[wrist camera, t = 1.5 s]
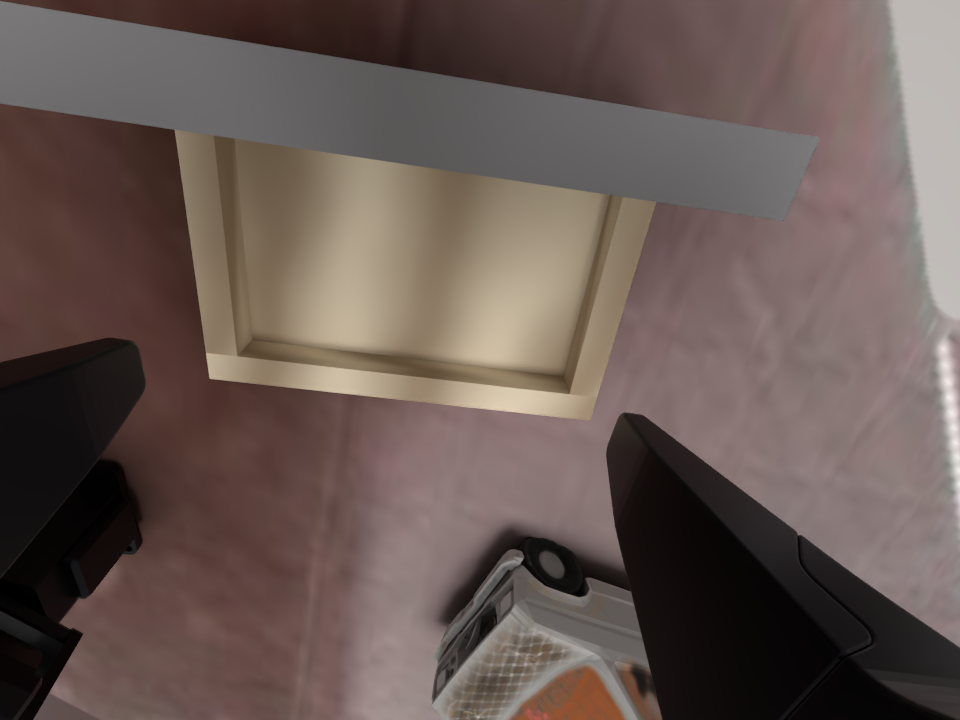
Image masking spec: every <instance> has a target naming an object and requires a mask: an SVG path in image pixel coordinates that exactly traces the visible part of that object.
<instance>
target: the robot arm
mask: <svg viewBox="0 0 960 720" xmlns="http://www.w3.org/2000/svg"><path fill="white" fill-rule="evenodd" d="M145 385H146V379H145V374H144V369H143V364H142V359H141V355H140V350H139V347H138V345H137V344H136V343H135V342H133V341H130V340H124V339H117V338H104V339H100V340H96V341H91V342H87V343H83V344H78V345H74V346H70V347H65V348H61V349H57V350H52V351H48V352H43V353H39V354H35V355H30V356H26V357H22V358H17V359H13V360H9V361H4V362H0V720H33V719H34V717H35V716H36V714H37V712H38V710H39V709H40V707H41V705H42V704H43V702H44V700H45V699H46V697H47V695H48V693H49V692H50V690H51V688H52V687H53V685H54V683H55V682H56V680H57V678H58V676H59V675H60V673H61V671H62V670H63V668H64V666H65V664H66V663H67V661H68V659H69V658H70V656H71V654H72V652H73V651H74V649H75V647H76V646H77V644H78V642H79V640H80V639H81V637H82V635H83V633H81V632H80V631H78V630H76V629H74V628H72V629H69V628H67V627H65V626H63V625H62V624H60V621H61V620H62V619H63V618H64V616H65V615H66V614H67V612H68V611H69V610H70V609H71V607H72V606H73V605H74V604H75V602H76V601H77V600H78V599H85V598H87V597H88V596H90V595H91V594H92V593H93V591H94V590H95V589H96V587H97V586H98V585H99V584H100V582H101V581H102V580H103V578H104V577H105V576H106V575H107V573H108V572H109V571H110V569H111V568H112V567H113V566H114V564H115V563H116V562H117V560H118V559H119V558H120V557H121V555H122V554H135V553H136V552H137V551H138V549H139V548H140V547H141V541H140V538H139V534H138V530H137V526H136V523H135V519H134V515H133V511H132V508H131V504H130V500H129V497H128V493H127V489H126V485H125V482H124V478H123V474H122V471H121V469H120V468H119V467H118V466H117V465H115V464H113V463H106V462H97V461H98V460H99V458H100V457H101V455H102V454H103V452H104V451H105V450H106V448H107V447H108V445H109V444H110V442H111V441H112V439H113V438H114V436H115V435H116V433H117V432H118V430H119V429H120V427H121V426H122V424H123V423H124V421H125V420H126V418H127V417H128V415H129V414H130V412H131V411H132V409H133V407H134V406H135V404H136V403H137V401H138V400H139V398H140V397H141V395H142V394H143V392H144V389H145ZM606 458H607V467H608V475H609V483H610V491H611V499H612V507H613V515H614V522H615V528H616V533H617V537H618V541H619V545H620V550H621V554H622V558H623V562H624V566H625V570H626V574H627V578H628V582H629V586H630V590H631V595H632V599H633V603H634V607H635V611H636V615H637V619H638V623H639V627H640V631H641V635H642V640H643V644H644V648H645V652H646V656H647V660H648V664H649V668H650V672H651V676H652V680H653V685H654V689H655V693H656V697H657V701H658V705H659V709H660V713H661V717H662V720H960V647H958V646H957V645H955V644H954V643H952V642H951V641H950V640H948V639H947V638H945V637H944V636H942V635H941V634H939V633H938V632H936V631H935V630H933V629H932V628H931V627H929V626H928V625H926V624H925V623H923V622H922V621H920V620H919V619H917V618H916V617H914V616H913V615H912V614H910V613H909V612H907V611H906V610H904V609H903V608H901V607H900V606H898V605H897V604H895V603H894V602H893V601H891V600H890V599H888V598H887V597H885V596H884V595H883V594H881V593H880V592H878V591H877V590H875V589H874V588H873V587H871V586H870V585H868V584H867V583H865V582H864V581H863V580H861V579H860V578H858V577H857V576H855V575H854V574H853V573H851V572H850V571H849V570H847V569H846V568H845V567H843V566H842V565H841V564H839V563H838V562H836V561H835V560H834V559H832V558H831V557H830V556H828V555H827V554H826V553H824V552H823V551H822V550H820V549H819V548H818V547H816V546H815V545H814V544H812V543H811V542H810V541H808V540H807V539H806V538H805V537H803V536H802V535H799V536H798V534H797V532H796V531H795V530H794V529H793V528H791V527H790V526H789V525H787V524H786V523H785V522H783V521H782V520H781V519H779V518H778V517H777V516H775V515H774V514H773V513H771V512H770V511H769V510H767V509H766V508H765V507H763V506H762V505H761V504H760V503H758V502H757V501H756V500H754V499H753V498H752V497H750V496H749V495H748V494H746V493H745V492H744V491H742V490H741V489H740V488H738V487H737V486H736V485H734V484H733V483H732V482H730V481H729V480H728V479H727V478H725V477H724V476H723V475H721V474H720V473H719V472H717V471H716V470H715V469H713V468H712V467H711V466H709V465H708V464H707V463H705V462H704V461H703V460H702V459H700V458H699V457H698V456H696V455H695V454H694V453H692V452H691V451H690V450H688V449H687V448H686V447H684V446H683V445H682V444H680V443H679V442H678V441H676V440H675V439H674V438H673V437H671V436H670V435H669V434H667V433H666V432H665V431H663V430H662V429H661V428H659V427H658V426H657V425H655V424H654V423H653V422H651V421H650V420H649V419H647V418H646V417H645V416H643V415H640V414H633V413H622V414H620V416H619V417H618V419H617V422H616V424H615V427H614V430H613V432H612V435H611V438H610V440H609V443H608V446H607V452H606Z"/></svg>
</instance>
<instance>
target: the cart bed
mask: <svg viewBox="0 0 960 720" xmlns="http://www.w3.org/2000/svg"><path fill="white" fill-rule="evenodd" d="M175 135H176V142H177V150H178V157H179V164H180V171H181V178H182V185H183V192H184V199H185V206H186V214H187V221H188V228H189V235H190V242H191V249H192V256H193V263H194V271H195V278H196V285H197V292H198V299H199V306H200V313H201V320H202V328H203V335H204V342H205V349H206V356H207V363H208V370H209V377H210V379H216V380H226V381H235V382H244V383H253V384H262V385H271V386H280V387H289V388H298V389H307V390H317V391H326V392H335V393H344V394H353V395H362V396H371V397H380V398H389V399H398V400H407V401H417V402H426V403H435V404H444V405H453V406H462V407H471V408H480V409H489V410H498V411H508V412H517V413H526V414H535V415H544V416H553V417H562V418H571V419H580V420H589V421H590V419H591V415H592V412H593V409H594V406H595V402H596V399H597V396H598V392H599V389H600V386H601V383H602V379H603V376H604V373H605V369H606V366H607V363H608V360H609V356H610V353H611V350H612V346H613V343H614V340H615V337H616V333H617V330H618V327H619V323H620V320H621V317H622V314H623V310H624V307H625V304H626V300H627V297H628V294H629V291H630V287H631V284H632V281H633V277H634V274H635V271H636V268H637V264H638V261H639V258H640V254H641V251H642V248H643V245H644V241H645V238H646V235H647V231H648V228H649V225H650V222H651V218H652V215H653V212H654V208H655V205H656V202H653V201H646V200H640V199H633V198H626V197H620V196H613V195H606V194H600V193H593V192H586V191H580V190H573V189H566V188H560V187H553V186H546V185H540V184H533V183H526V182H520V181H513V180H506V179H500V178H493V177H486V176H480V175H473V174H467V173H460V172H453V171H447V170H440V169H433V168H427V167H420V166H413V165H407V164H400V163H393V162H387V161H380V160H373V159H367V158H360V157H353V156H347V155H340V154H333V153H327V152H320V151H313V150H307V149H300V148H293V147H287V146H280V145H273V144H267V143H260V142H254V141H247V140H240V139H234V138H227V137H220V136H214V135H207V134H200V133H194V132H187V131H180V130H175Z"/></svg>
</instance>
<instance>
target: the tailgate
mask: <svg viewBox="0 0 960 720" xmlns="http://www.w3.org/2000/svg"><path fill="white" fill-rule="evenodd" d="M0 103H1V104H7V105H14V106H21V107H27V108H34V109H41V110H47V111H54V112H60V113H67V114H74V115H80V116H87V117H94V118H100V119H107V120H114V121H120V122H127V123H134V124H140V125H147V126H154V127H160V128H167V129H174V130H180V131H187V132H194V133H200V134H207V135H214V136H220V137H227V138H234V139H240V140H247V141H254V142H260V143H267V144H273V145H280V146H287V147H293V148H300V149H307V150H313V151H320V152H327V153H333V154H340V155H347V156H353V157H360V158H367V159H373V160H380V161H387V162H393V163H400V164H407V165H413V166H420V167H427V168H433V169H440V170H447V171H453V172H460V173H467V174H473V175H480V176H486V177H493V178H500V179H506V180H513V181H520V182H526V183H533V184H540V185H546V186H553V187H560V188H566V189H573V190H580V191H586V192H593V193H600V194H606V195H613V196H620V197H626V198H633V199H640V200H646V201H653V202H660V203H666V204H673V205H680V206H686V207H693V208H700V209H706V210H713V211H719V212H726V213H733V214H739V215H746V216H753V217H759V218H766V219H773V220H779V221H784V220H785V217H786V215H787V213H788V210H789V208H790V206H791V203H792V201H793V199H794V197H795V194H796V192H797V190H798V187H799V185H800V183H801V180H802V178H803V176H804V173H805V171H806V169H807V166H808V164H809V162H810V160H811V157H812V155H813V153H814V150H815V148H816V146H817V143H818V141H819V139H820V138H819V137H813V136H807V135H801V134H795V133H789V132H783V131H777V130H771V129H765V128H759V127H753V126H747V125H741V124H735V123H729V122H723V121H717V120H711V119H705V118H699V117H693V116H687V115H681V114H675V113H669V112H663V111H657V110H651V109H645V108H639V107H633V106H627V105H621V104H615V103H609V102H603V101H597V100H591V99H585V98H579V97H573V96H567V95H561V94H555V93H549V92H543V91H537V90H531V89H525V88H519V87H513V86H507V85H501V84H495V83H489V82H483V81H477V80H471V79H465V78H459V77H453V76H447V75H441V74H435V73H429V72H423V71H417V70H411V69H405V68H399V67H393V66H387V65H381V64H375V63H369V62H363V61H357V60H351V59H345V58H339V57H333V56H327V55H321V54H315V53H309V52H303V51H297V50H291V49H285V48H279V47H273V46H267V45H261V44H255V43H249V42H243V41H237V40H231V39H225V38H219V37H213V36H207V35H201V34H195V33H189V32H183V31H177V30H171V29H165V28H159V27H153V26H147V25H141V24H135V23H129V22H123V21H117V20H111V19H105V18H99V17H93V16H87V15H81V14H75V13H69V12H63V11H57V10H51V9H45V8H39V7H33V6H27V5H21V4H15V3H9V2H3V1H0Z"/></svg>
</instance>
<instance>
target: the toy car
mask: <svg viewBox="0 0 960 720" xmlns="http://www.w3.org/2000/svg"><path fill="white" fill-rule="evenodd" d="M434 660H435V662H436V663H437V664H438V666H437V670H436V674H435V680H434V686H433V693H432V706H433V707H434V709H435V710H436V711H437V712H438V714H439V715H440V716H441V717H442V719H443V720H662V717H661V713H660V709H659V705H658V701H657V697H656V693H655V689H654V685H653V680H652V676H651V672H650V668H649V664H648V660H647V656H646V652H645V648H644V644H643V640H642V635H641V631H640V627H639V623H638V619H637V615H636V611H635V607H634V603H633V599H632V595H631V592H630V591H627V590H624V589H622V588H619V587H616V586H613V585H610V584H607V583H604V582H602V581H599V580H596V579H593V578H585V579H584V580H583V582H582V571H581V568H580V566H579V563H578V561H577V559H576V557H575V556H574V554H573V553H572V551H569V550H568V549H567V548H565V547H563V546H560V545H558V544H557V543H555V542H554V541H551V540H548V539H544V538H533V537H530V538H528V539H526V540H525V541H524V542H523V543H522V544H521V545H520V547H519V549H518V550H515V549H513V550H509V551H507V552H506V553H505V554H504V555H503V556H502V558H501V559H500V560H499V562H498V563H497V564H496V566H495V567H494V568H493V570H492V571H491V572H490V574H489V575H488V576H487V578H486V579H485V580H484V582H483V583H482V584H481V586H480V587H479V588H478V590H477V591H476V593H475V594H474V597H473V598H472V600H471V601H470V602H469V603H468V605H467V606H466V607H465V608H464V609H463V610H461V611H460V612H459V614H458V615H457V616H456V617H455V619H454V620H453V621H452V622H451V623H450V625H449V626H448V628H447V630H446V632H445V634H444V637H443V639H442V641H441V643H440V646H439V648H438V650H437V651H436V653H435V656H434Z"/></svg>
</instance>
